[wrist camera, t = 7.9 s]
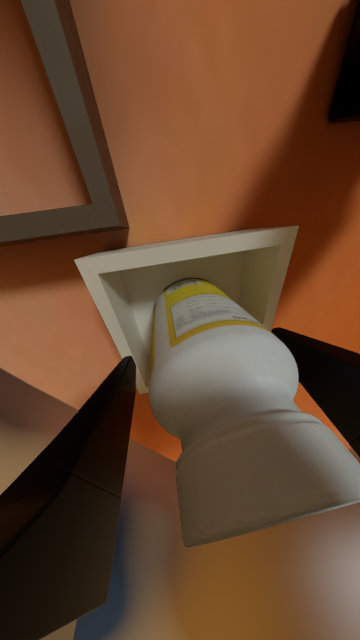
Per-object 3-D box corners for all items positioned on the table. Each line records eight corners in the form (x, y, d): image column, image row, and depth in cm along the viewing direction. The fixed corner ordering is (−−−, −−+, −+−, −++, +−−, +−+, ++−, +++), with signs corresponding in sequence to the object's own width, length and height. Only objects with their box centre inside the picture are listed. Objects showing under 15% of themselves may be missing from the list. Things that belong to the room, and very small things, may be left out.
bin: (251, 228, 11) (299, 225, 7) (237, 340, 17) (260, 369, 14) (103, 250, 11) (73, 259, 7) (143, 358, 17) (139, 394, 13)
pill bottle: (178, 346, 15) (214, 542, 6) (137, 303, 12) (56, 580, 2) (231, 315, 14) (397, 494, 4) (201, 257, 11) (564, 440, 1)
